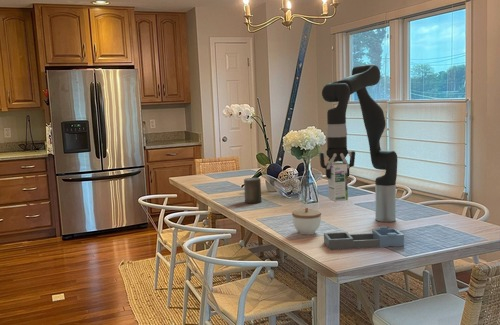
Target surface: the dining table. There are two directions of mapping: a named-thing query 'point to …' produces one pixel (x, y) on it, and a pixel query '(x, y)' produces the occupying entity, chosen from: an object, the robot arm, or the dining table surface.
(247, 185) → the pillar candle
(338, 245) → the frame
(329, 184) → the syrup box
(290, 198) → the dining table surface
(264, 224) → the dining table surface
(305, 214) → the lidded bowl
